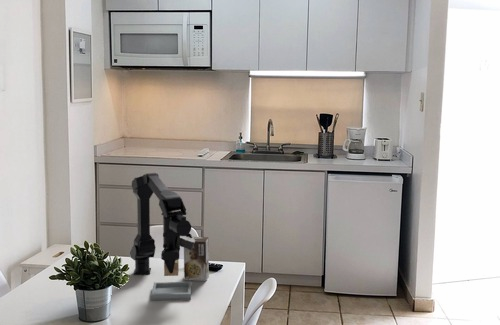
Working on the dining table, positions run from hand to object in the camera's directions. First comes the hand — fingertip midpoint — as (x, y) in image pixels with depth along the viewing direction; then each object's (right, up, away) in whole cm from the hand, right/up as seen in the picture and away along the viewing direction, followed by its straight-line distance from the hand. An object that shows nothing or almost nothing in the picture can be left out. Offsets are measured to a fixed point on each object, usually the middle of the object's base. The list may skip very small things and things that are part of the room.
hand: (171, 270), depth 207 cm
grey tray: (0, -9, +1) cm, 9 cm away
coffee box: (+7, -6, +18) cm, 20 cm away
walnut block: (0, -1, 0) cm, 1 cm away
